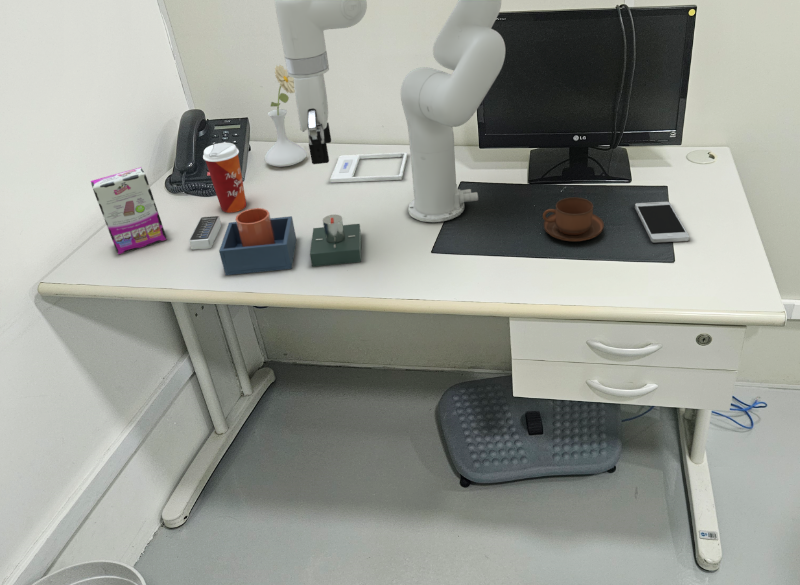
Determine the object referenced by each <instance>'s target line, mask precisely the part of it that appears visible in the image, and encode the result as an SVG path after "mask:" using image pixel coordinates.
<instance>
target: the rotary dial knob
mask: <svg viewBox="0 0 800 585" xmlns="http://www.w3.org/2000/svg"><path fill="white" fill-rule="evenodd" d="M343 225H344V221H343V217H342V215H340V214H328V215H326V216H325V217H323V218H322V227H324V232H325V237H326V241H327V242H330V243H337V242H340V241H342V240H344V238H345V234H344V227H343Z"/></svg>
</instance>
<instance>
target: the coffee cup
mask: <svg viewBox="0 0 800 585" xmlns="http://www.w3.org/2000/svg"><path fill="white" fill-rule="evenodd" d="M239 153H240V150H239V148H238V147H237V146H236V144H234V143H232V142H219V143H215V144H211V145H209V146H207V147H205V149H204V150H203V155H202V158H203V160H204V161H205V163H206V166H207V170H208V173H209V176H210V179H211V182H212V186H213V187H214V191H215V194H216V197H217V200H218V203H219V206H220V208H221V211H222V212H224V213H229V214H230V213H238V212H240V211H243V210H244V209H245V208H246V207H247V200H246V199H247V198H246V194H245V187H244V182H243V175H242V169H241V165H240V158H239Z"/></svg>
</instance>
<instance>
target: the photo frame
mask: <svg viewBox="0 0 800 585" xmlns="http://www.w3.org/2000/svg"><path fill="white" fill-rule="evenodd" d="M381 158H382V159H384V158H388V159H389V158H402V161H401V166H400V169H399V173H398V174H394V175H371V176H370V175H369V176H368V175H367V176H354V175H355V173H356V170H357V168H358V165H359V162H360V160H363V159H381ZM407 159H408V152H388V153H387V152H386V153H385V152H384V153H364V154H363V153H361V154H343V155H342V154H341V155H339V156H338V159H337V161H336V164H335V166H334V168H333V170H332V173H331V176H330V178H329V182H330V183H353V182H376V181H377V182H379V181H399V180H400V181H401V180H403V177H404V172H405V168H406V163H407Z"/></svg>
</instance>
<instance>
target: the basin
mask: <svg viewBox="0 0 800 585" xmlns="http://www.w3.org/2000/svg"><path fill="white" fill-rule="evenodd" d="M270 218H271V223H272V227H273V232H274V237H275V241H276V244H267V245H257V246H247V247H242V244H241V240H240V236H239V232H238V228H237V224H236V221H233V222H228V224H227V226H226V230H225V233H224V236H223V238H222V240H221V241H222V242H221V245H220V248H219V250H218V252H219V256H220V260H221V264H222V267H223V270H224V274H225V276H234V275H242V274H243V275H244V274H254V273H263V272H274V271H284V270H291V269H293V262H294V257H295V251H296V244H297V235H296V230H295V226H294V220H293V216H292V215H291V216H281V217H270Z"/></svg>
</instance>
